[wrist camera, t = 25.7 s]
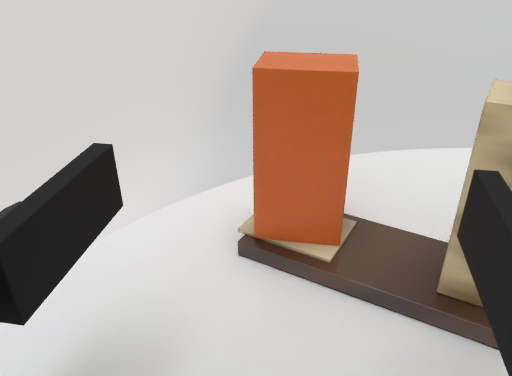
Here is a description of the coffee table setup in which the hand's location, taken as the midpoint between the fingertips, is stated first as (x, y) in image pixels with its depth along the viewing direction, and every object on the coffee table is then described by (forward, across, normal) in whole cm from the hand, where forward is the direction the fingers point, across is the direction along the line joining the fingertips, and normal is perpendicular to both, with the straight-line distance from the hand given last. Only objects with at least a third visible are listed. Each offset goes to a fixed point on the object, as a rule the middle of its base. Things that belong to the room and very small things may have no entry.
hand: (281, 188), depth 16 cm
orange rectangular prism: (+8, 0, -7) cm, 11 cm away
